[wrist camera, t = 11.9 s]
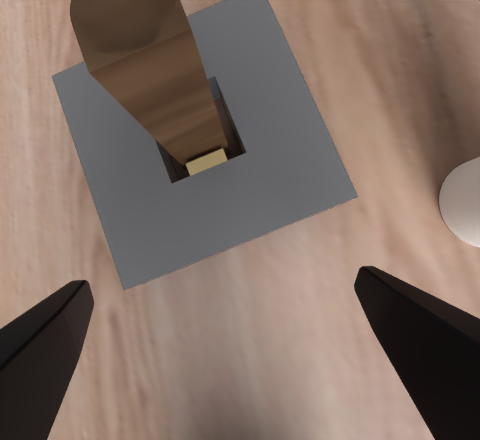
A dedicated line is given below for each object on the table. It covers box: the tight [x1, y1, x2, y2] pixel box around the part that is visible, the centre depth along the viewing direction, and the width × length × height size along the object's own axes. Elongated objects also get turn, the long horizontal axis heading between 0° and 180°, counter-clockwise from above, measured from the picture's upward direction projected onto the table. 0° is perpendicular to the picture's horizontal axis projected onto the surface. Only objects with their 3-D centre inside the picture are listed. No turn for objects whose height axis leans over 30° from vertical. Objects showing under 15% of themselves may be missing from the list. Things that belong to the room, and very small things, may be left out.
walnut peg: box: [70, 0, 231, 171], centre depth 16 cm, size 4×4×13 cm
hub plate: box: [52, 0, 358, 290], centre depth 21 cm, size 18×18×3 cm
